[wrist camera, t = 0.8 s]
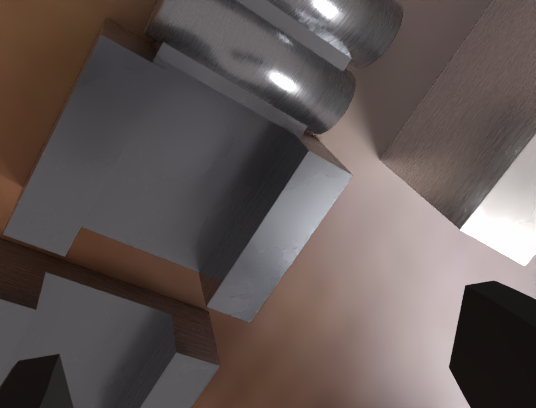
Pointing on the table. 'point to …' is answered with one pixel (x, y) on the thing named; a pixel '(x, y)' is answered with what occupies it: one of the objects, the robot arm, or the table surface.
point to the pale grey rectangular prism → (480, 134)
